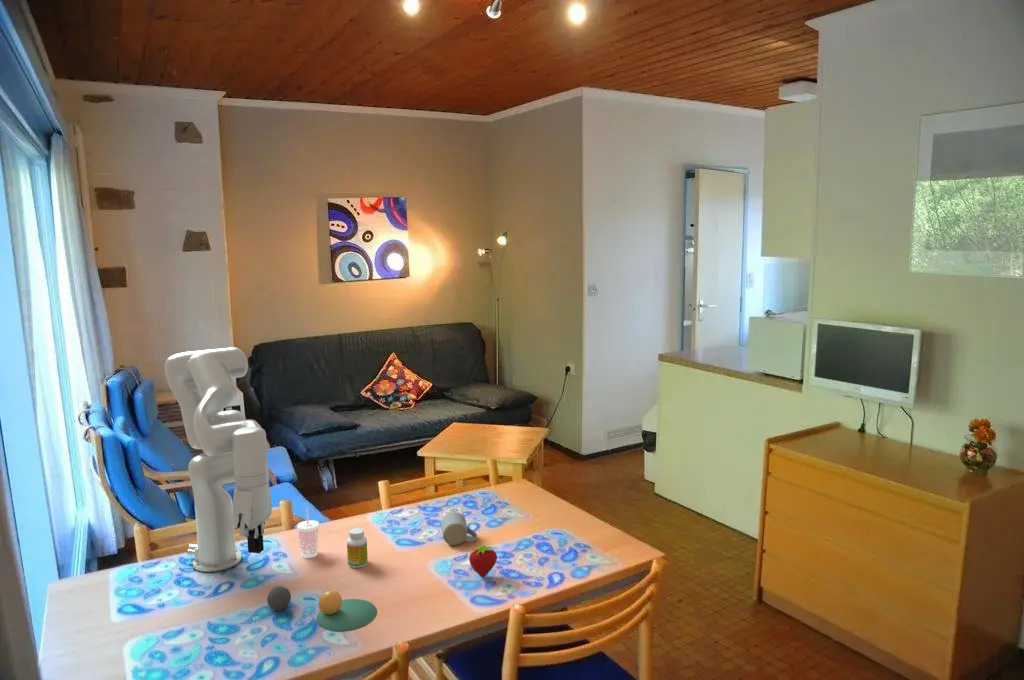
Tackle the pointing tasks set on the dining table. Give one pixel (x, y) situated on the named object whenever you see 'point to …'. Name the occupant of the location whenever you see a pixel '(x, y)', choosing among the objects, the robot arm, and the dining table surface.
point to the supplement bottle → (357, 548)
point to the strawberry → (482, 560)
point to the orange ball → (330, 602)
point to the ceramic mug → (456, 529)
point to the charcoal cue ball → (278, 598)
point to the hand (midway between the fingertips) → (255, 551)
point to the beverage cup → (308, 537)
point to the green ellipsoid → (348, 616)
